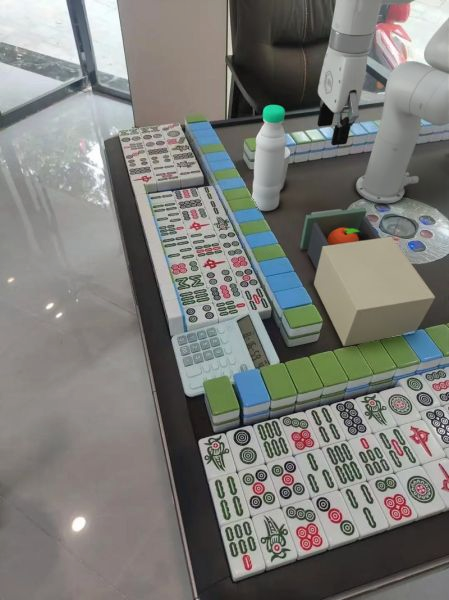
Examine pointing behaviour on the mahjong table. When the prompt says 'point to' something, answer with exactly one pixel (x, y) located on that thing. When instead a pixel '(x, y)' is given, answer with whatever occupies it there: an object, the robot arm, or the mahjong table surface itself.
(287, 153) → the white cup
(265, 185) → the water bottle
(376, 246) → the cabinet
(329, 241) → the clementine
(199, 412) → the mahjong table surface
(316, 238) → the drawer
